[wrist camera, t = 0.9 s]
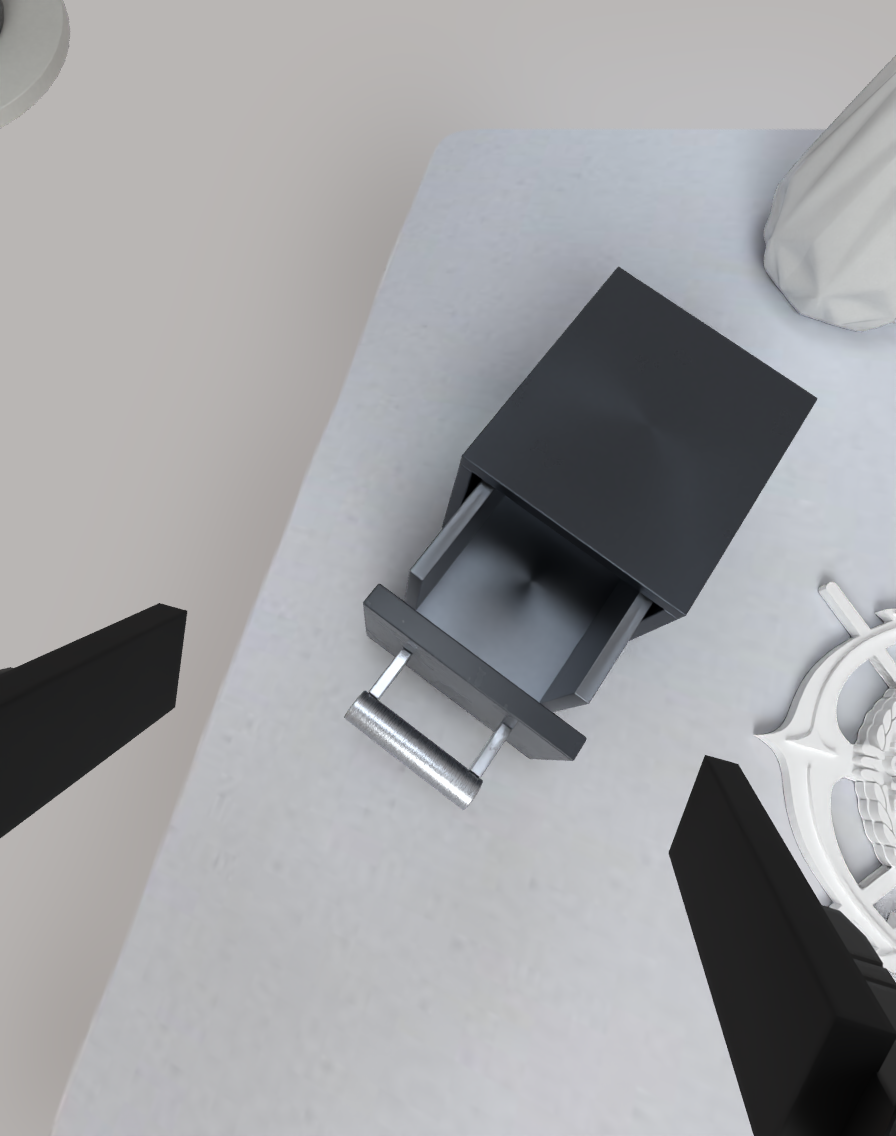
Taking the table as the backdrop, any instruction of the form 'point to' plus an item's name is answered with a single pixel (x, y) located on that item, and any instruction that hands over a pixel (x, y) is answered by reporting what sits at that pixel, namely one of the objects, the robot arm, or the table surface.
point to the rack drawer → (497, 638)
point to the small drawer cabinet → (640, 442)
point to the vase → (841, 217)
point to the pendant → (845, 771)
